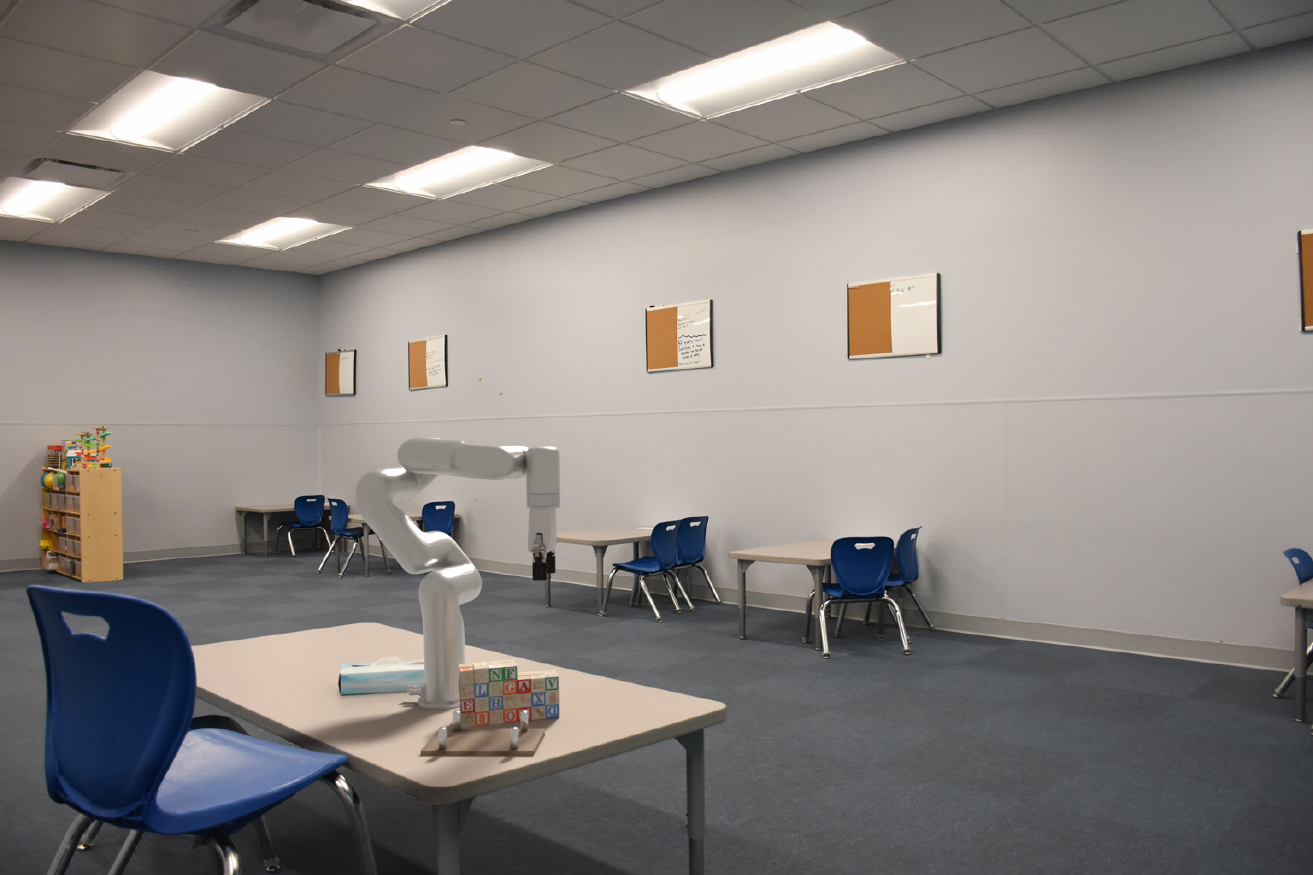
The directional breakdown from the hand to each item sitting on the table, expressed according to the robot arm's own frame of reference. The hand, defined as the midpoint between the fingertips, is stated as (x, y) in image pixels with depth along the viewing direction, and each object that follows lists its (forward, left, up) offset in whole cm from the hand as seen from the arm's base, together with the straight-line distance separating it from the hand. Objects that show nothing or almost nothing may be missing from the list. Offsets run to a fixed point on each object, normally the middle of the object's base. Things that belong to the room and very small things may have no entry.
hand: (544, 576), depth 208 cm
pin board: (-8, -25, -30) cm, 40 cm away
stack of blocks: (-7, -7, -30) cm, 32 cm away
